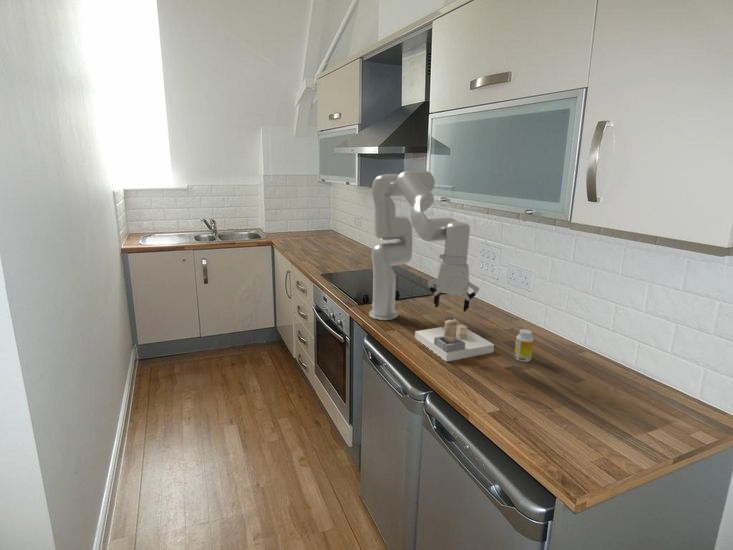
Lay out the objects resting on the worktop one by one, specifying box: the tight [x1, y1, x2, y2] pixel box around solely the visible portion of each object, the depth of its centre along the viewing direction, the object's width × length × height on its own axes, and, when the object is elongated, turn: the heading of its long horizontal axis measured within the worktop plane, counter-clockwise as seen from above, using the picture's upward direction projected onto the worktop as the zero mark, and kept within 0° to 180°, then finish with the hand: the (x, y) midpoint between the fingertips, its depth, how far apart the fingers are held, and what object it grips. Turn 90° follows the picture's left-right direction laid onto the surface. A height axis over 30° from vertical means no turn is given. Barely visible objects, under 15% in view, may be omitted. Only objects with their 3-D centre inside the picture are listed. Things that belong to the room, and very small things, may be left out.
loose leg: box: [444, 320, 457, 344], centre depth 154 cm, size 4×4×9 cm
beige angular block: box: [445, 316, 469, 338], centre depth 167 cm, size 12×3×4 cm, turn 21°
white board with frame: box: [414, 326, 495, 362], centre depth 163 cm, size 21×20×6 cm
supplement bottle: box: [513, 328, 535, 363], centre depth 153 cm, size 6×6×10 cm
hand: (450, 308), depth 152 cm, fingers open, 9 cm apart
